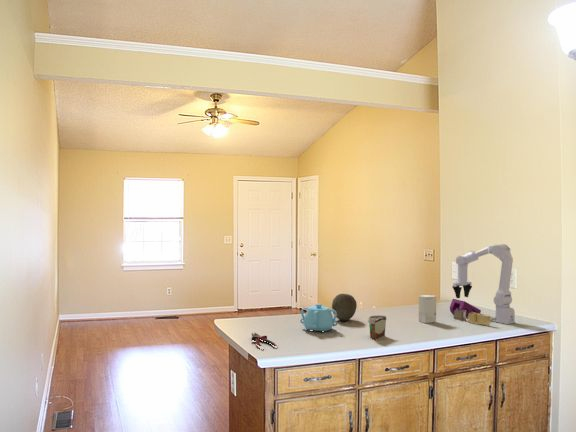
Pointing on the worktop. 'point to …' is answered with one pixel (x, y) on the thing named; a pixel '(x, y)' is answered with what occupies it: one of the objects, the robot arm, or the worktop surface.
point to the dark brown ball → (344, 306)
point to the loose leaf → (479, 318)
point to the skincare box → (427, 308)
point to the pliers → (264, 338)
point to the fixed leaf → (460, 315)
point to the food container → (377, 326)
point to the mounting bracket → (463, 307)
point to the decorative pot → (318, 318)
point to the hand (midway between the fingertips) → (462, 297)
